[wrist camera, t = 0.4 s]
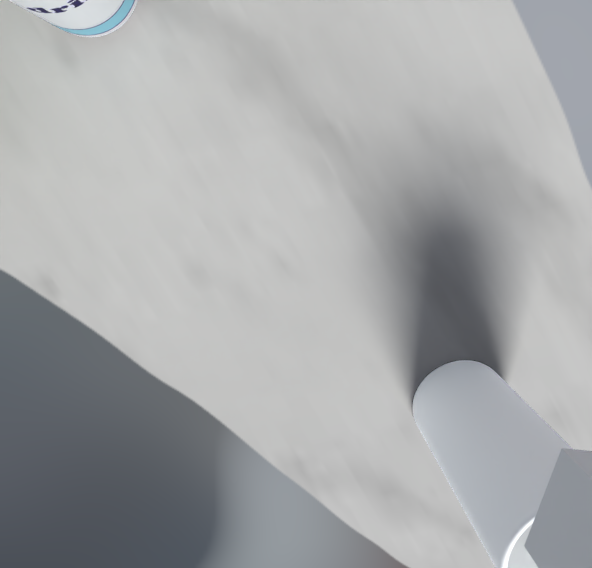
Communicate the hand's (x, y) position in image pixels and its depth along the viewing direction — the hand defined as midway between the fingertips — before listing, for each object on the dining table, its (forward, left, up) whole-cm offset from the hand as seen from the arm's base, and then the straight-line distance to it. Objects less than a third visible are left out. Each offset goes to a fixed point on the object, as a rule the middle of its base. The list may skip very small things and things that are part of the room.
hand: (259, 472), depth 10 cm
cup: (+14, +18, -27) cm, 35 cm away
